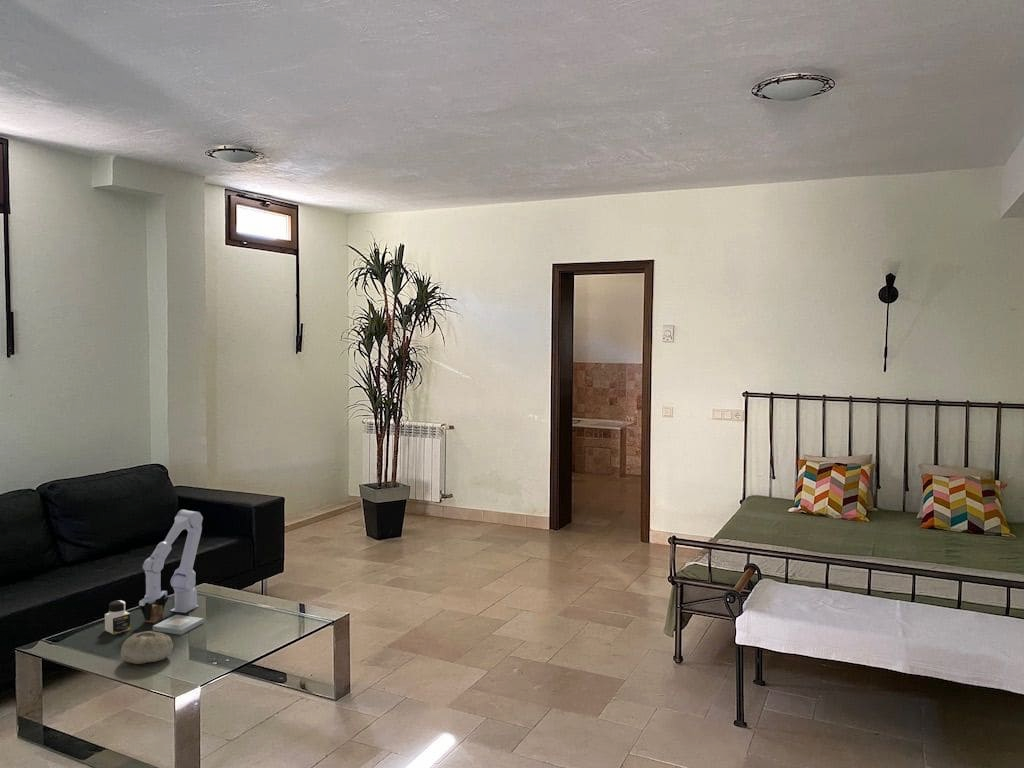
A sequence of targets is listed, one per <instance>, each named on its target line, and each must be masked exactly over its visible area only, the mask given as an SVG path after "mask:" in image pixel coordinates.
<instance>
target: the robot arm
mask: <svg viewBox="0 0 1024 768" xmlns="http://www.w3.org/2000/svg"><path fill="white" fill-rule="evenodd" d="M203 520H204V517H203V515H202V514H201V512H200V511H194V510H188V509H180V510H179V511H178V512H177V514H176V515H175V517H174V523H173V524H172V527H170V530H169V531H168V533H167V535H166V536H165V539H164V540H162V541H160V542H159V543H158V544H157V545H156V547H155V549H154V550H153V552H152V554H151V555H150V556H149V557H148V558H146V559H144V561H143V563H142V569H143V571H144V575H145V595H144V598H142V599H141V600H139V602H138V608H139V609H140V610H141V611H140V612H142V615H143V619H144V621H145V620H148V621H149V620H150V616H151V609H152V606H153V605H152V604H150V603H151V602H154V601H155V605H163V611H164V609H165V606H166V604H167V601H168V599H169V597H168V590H162V589H161V588H162V587H161V580H162V578H161V576H162V575H161V571H162V570H163V569H164V565H165V562H166V559H167V557H168V555H169V554H170V552H171V551H172V549H173V548H172V544H173V543H174V542H175V540H176V539H177V538H178V537H179V535H180V533H182V531H184V530H186V531H187V536H186V539H185V544H184V547H183V551H182V555H181V561H180V564H179V567H178V568H176V569H175V570H174V573H173V575H172V576H171V578H170V586H171V587H172V588H173V590H174V592H173V593H174V607H173V608H172V609H170V612H173V613H174V612H175V613H181V614H183V613H184V614H186V613H188V612H190V611H191V610H194V609H197V608H198V607H199V605H198V591H197V589H196V588H195V586H196V582H197V581H196V575H197V574H196V571H195V570H194V569H193V568H194V566H195V565H194V564H195V560H196V555H197V553H198V552H197V551H198V549H199V547H198V546H199V543H200V539H201V535H202V532H203V531H202V530H203V525H202V524H203Z"/></svg>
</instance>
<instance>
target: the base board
mask: <svg viewBox="0 0 1024 768" xmlns="http://www.w3.org/2000/svg"><path fill="white" fill-rule="evenodd" d="M204 623H205V622H204V618H203V617H197V616H188V615H181V614H175V615H172V616H170V617H168V618H166V619H163V620H162V621H159V622H158V623H156V624H154V625H152V632H154V631H155V632H158V633H164V634H165V633H167V634H174V635H180V636H182V635H184V634H186V633H187V632H189V631H191V630H193V629H195V628H196V627H199V626H202V624H204Z"/></svg>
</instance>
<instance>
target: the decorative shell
mask: <svg viewBox="0 0 1024 768" xmlns="http://www.w3.org/2000/svg"><path fill="white" fill-rule="evenodd" d="M120 649H121V650H120V656H121V659H122V660H123V661H125V662H126V663H131V664H135V665H136V664H138V665H140V664H146V663H147V662H148V663H153V662H154V663H155V662H160V661H161V660H164V659H166V657H168V656H169V655H170V654H171V653H172V651H173V649H174V643H173V641H172V638H171V637H170V635H167V634H165V632H158V631H153V630H152V631H151V630H148V631H147V630H145V631H140V632H135V633H133V634H132V635H129V637H127V638H126V639H125V641H124V642H122V645H121V648H120Z"/></svg>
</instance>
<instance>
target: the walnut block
mask: <svg viewBox="0 0 1024 768" xmlns="http://www.w3.org/2000/svg"><path fill="white" fill-rule="evenodd" d="M151 605H153V606H152V609H151V616H150V620H149V621H148V620H145V619H144V622H145V623H151V624H155V623H156V624H157V622H158V623H159V622H161V620H162V621H163V620H164V618H163V617H164V610H163V605H156V603H155V604H154V603H152V604H151Z"/></svg>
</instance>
